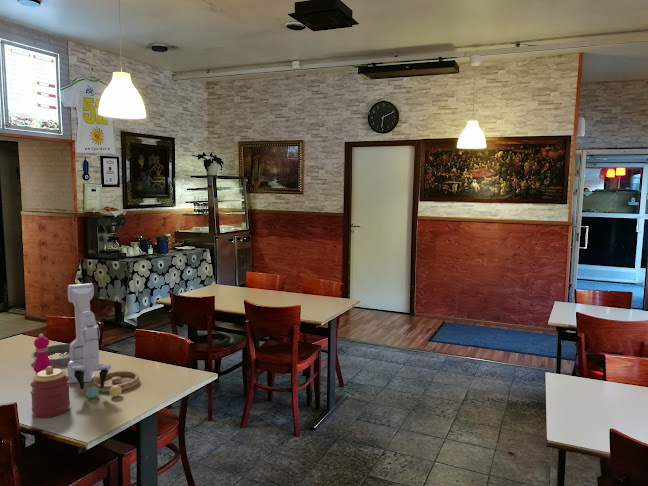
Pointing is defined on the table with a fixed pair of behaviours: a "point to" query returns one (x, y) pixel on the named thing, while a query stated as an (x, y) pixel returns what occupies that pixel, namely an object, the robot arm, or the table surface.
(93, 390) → the bead teal
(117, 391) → the bead ochre
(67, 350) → the cake pan
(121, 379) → the groove tray
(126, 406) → the table surface
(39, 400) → the canister
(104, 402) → the table surface
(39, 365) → the pepper mill
